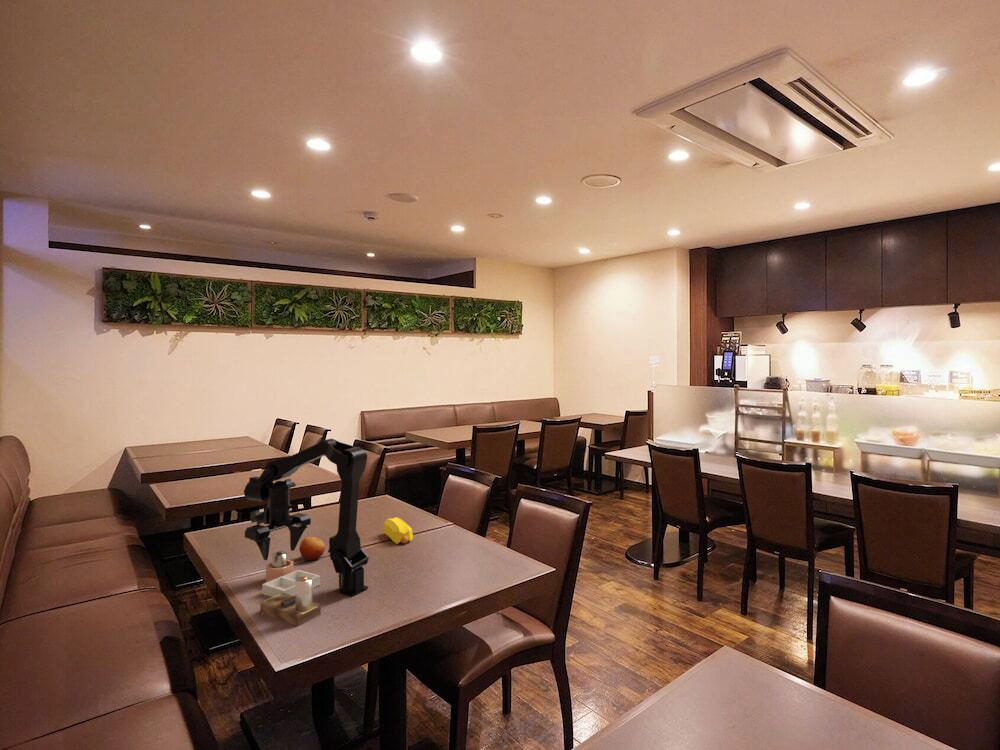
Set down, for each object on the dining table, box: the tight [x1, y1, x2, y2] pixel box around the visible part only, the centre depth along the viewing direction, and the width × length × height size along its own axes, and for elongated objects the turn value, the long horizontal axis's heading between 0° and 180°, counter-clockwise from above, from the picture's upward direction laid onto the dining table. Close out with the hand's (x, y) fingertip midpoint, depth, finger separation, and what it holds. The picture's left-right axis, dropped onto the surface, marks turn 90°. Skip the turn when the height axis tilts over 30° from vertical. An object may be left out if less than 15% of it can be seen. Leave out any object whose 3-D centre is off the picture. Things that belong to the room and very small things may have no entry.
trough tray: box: [262, 569, 321, 598], centre depth 149 cm, size 9×12×3 cm
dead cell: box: [271, 550, 288, 568], centre depth 156 cm, size 4×4×8 cm
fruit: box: [299, 536, 326, 562], centre depth 174 cm, size 8×8×8 cm
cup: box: [265, 559, 295, 583], centre depth 156 cm, size 7×7×5 cm
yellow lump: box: [381, 516, 414, 545], centre depth 195 cm, size 18×7×8 cm
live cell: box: [295, 577, 313, 612], centre depth 132 cm, size 4×4×8 cm
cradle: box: [259, 593, 322, 627], centre depth 134 cm, size 15×7×4 cm, turn 60°
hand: (279, 555), depth 156 cm, fingers open, 9 cm apart
